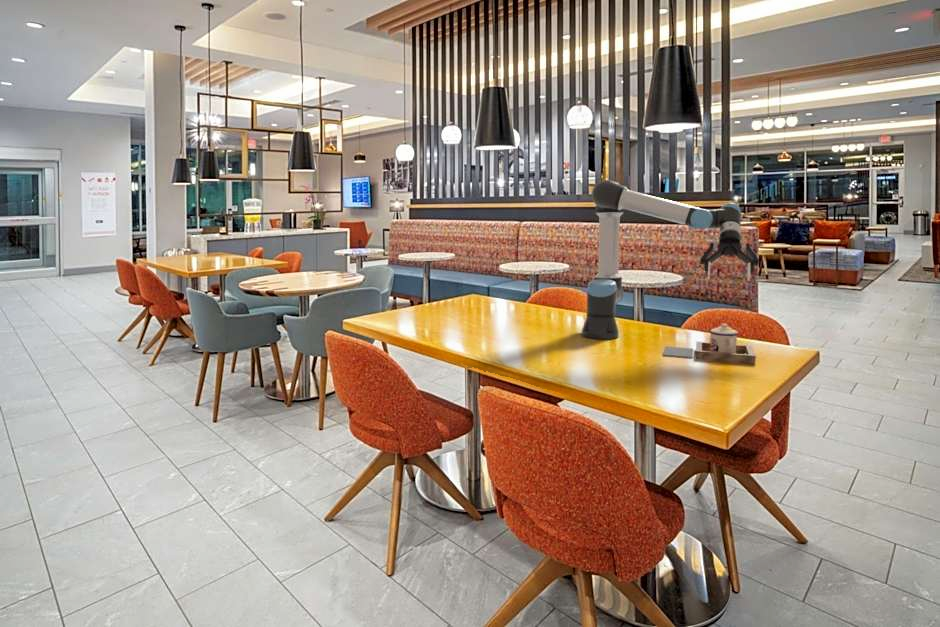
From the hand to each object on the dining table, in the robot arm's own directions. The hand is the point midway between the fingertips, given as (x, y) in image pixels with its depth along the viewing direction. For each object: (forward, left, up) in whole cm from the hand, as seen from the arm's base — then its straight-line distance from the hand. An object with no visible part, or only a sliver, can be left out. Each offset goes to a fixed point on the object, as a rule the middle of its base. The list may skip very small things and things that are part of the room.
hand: (728, 278), depth 216 cm
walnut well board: (0, -11, -27) cm, 29 cm away
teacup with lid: (0, -11, -28) cm, 30 cm away
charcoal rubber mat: (-16, -11, -27) cm, 33 cm away
